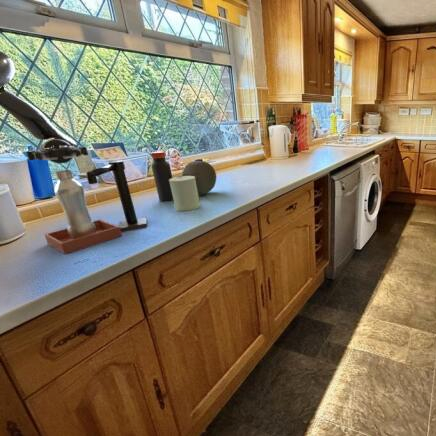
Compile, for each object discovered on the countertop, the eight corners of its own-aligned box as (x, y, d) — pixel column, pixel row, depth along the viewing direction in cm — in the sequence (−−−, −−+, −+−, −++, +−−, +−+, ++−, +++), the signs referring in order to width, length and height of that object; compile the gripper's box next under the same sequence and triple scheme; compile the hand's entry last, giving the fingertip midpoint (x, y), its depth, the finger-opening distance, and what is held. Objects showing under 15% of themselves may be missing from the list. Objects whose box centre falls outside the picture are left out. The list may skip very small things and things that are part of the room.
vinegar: (157, 199, 130) (146, 152, 123) (174, 196, 134) (164, 150, 127) (161, 202, 125) (150, 153, 118) (178, 199, 129) (168, 152, 123)
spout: (115, 172, 95) (112, 160, 94) (128, 171, 96) (125, 160, 94) (83, 184, 80) (79, 170, 79) (98, 183, 80) (94, 169, 79)
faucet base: (118, 232, 95) (101, 173, 89) (119, 225, 101) (104, 170, 94) (147, 226, 99) (132, 170, 92) (147, 220, 104) (133, 167, 98)
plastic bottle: (82, 233, 93) (60, 169, 86) (104, 233, 92) (83, 168, 86) (64, 242, 87) (40, 174, 80) (87, 242, 86) (64, 173, 80)
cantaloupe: (181, 194, 136) (174, 161, 131) (212, 189, 145) (206, 157, 140) (192, 201, 126) (185, 165, 121) (224, 194, 135) (219, 160, 130)
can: (196, 202, 124) (190, 173, 120) (203, 207, 117) (198, 176, 113) (172, 207, 118) (165, 177, 114) (178, 212, 112) (172, 180, 108)
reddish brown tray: (64, 254, 81) (61, 243, 80) (47, 244, 88) (44, 234, 87) (122, 235, 92) (119, 226, 91) (103, 228, 99) (100, 219, 98)
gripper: (26, 141, 96) (21, 143, 84) (82, 137, 104) (84, 139, 92) (34, 164, 98) (30, 170, 86) (88, 159, 107) (91, 164, 95)
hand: (58, 154), depth 89 cm, fingers open, 8 cm apart
